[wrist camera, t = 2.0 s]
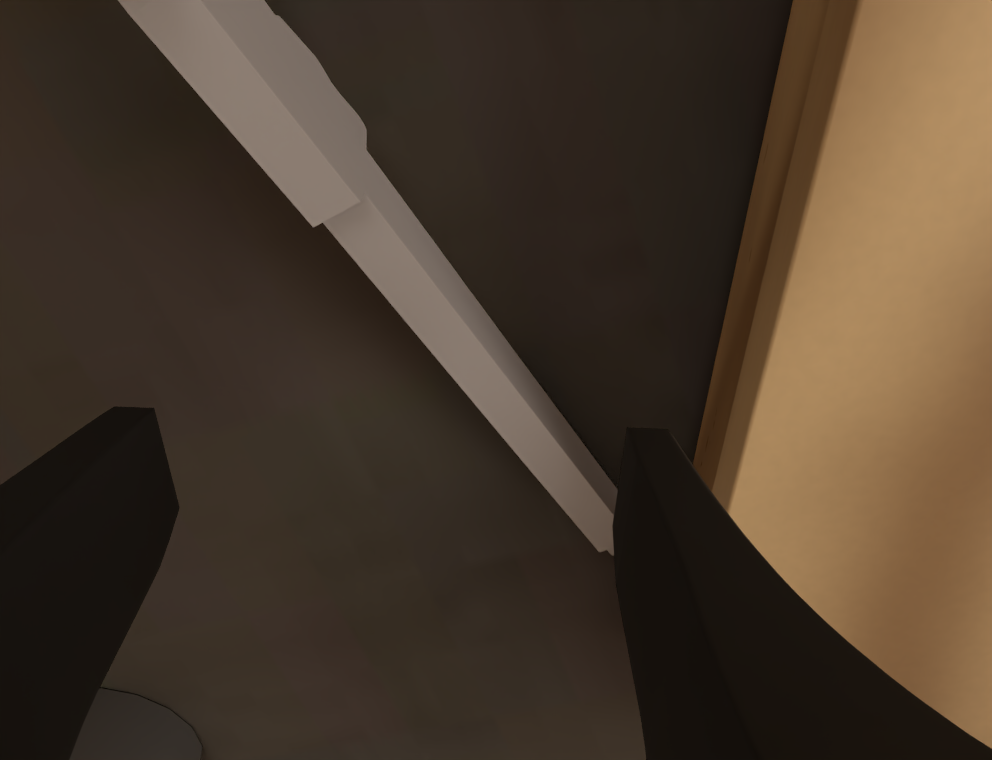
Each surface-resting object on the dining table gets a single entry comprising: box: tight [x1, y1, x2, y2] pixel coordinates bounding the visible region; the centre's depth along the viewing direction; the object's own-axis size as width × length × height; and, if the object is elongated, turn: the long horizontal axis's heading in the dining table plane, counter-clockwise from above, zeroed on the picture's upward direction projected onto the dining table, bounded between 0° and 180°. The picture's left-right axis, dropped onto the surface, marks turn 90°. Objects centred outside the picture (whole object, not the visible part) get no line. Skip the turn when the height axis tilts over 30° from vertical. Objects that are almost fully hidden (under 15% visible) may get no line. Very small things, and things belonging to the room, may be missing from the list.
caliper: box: [118, 0, 618, 556], centre depth 16 cm, size 20×1×6 cm, turn 29°
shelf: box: [693, 0, 992, 749], centre depth 16 cm, size 10×26×5 cm, turn 178°
